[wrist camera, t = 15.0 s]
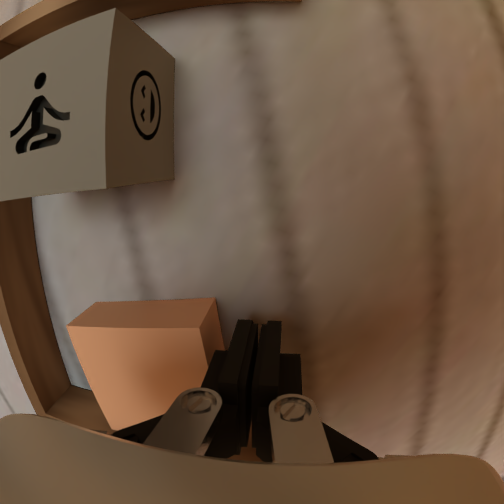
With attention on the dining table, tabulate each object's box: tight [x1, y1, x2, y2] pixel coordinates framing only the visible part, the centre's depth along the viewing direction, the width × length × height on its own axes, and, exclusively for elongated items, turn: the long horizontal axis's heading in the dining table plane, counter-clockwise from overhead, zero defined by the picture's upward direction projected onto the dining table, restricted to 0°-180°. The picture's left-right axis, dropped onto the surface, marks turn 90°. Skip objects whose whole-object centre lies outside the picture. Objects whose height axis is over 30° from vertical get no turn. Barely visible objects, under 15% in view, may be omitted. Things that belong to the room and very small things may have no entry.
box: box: [0, 0, 302, 462], centre depth 11 cm, size 14×21×3 cm, turn 0°
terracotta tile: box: [66, 298, 225, 430], centre depth 13 cm, size 6×6×3 cm
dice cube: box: [0, 8, 175, 201], centre depth 9 cm, size 5×5×5 cm
